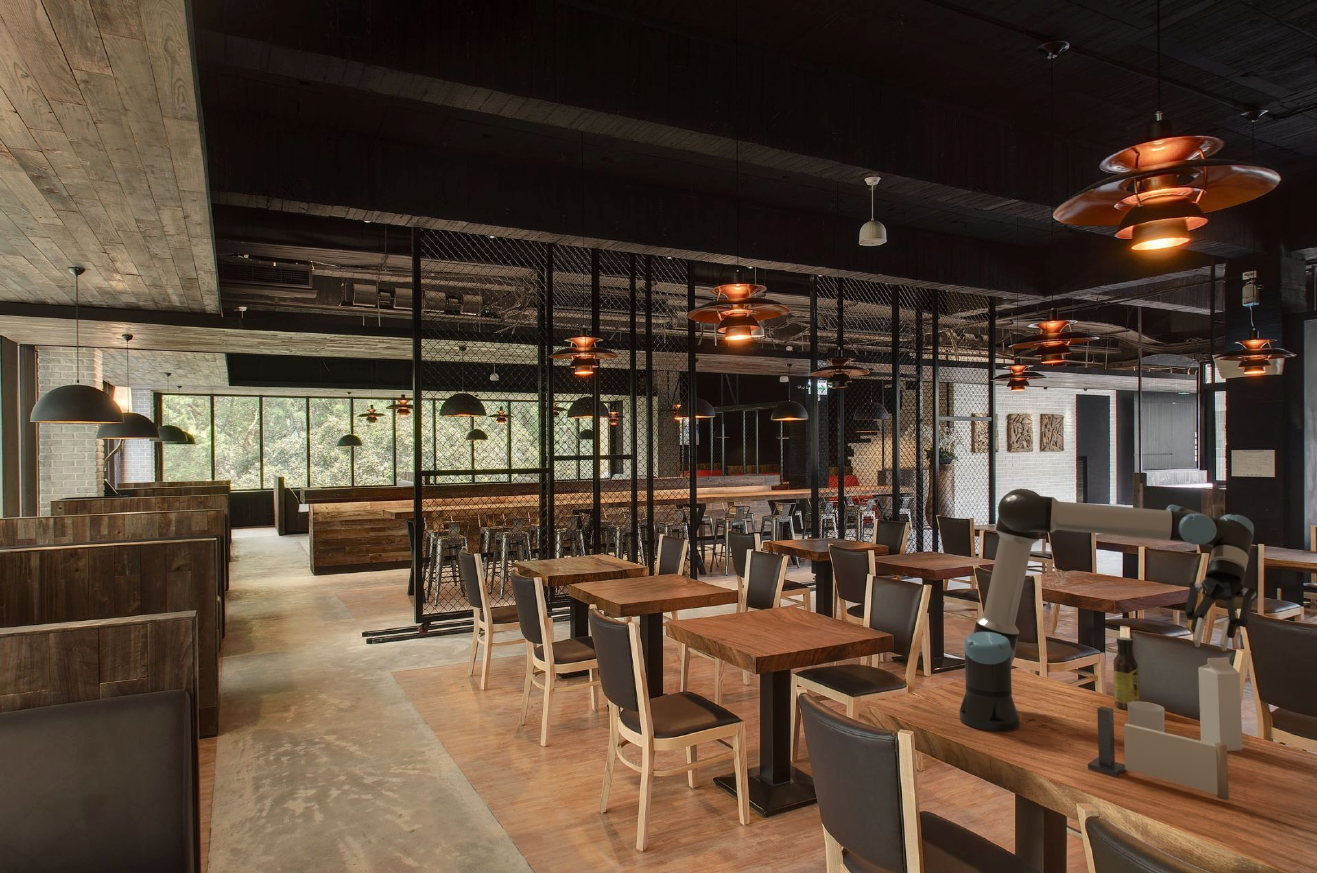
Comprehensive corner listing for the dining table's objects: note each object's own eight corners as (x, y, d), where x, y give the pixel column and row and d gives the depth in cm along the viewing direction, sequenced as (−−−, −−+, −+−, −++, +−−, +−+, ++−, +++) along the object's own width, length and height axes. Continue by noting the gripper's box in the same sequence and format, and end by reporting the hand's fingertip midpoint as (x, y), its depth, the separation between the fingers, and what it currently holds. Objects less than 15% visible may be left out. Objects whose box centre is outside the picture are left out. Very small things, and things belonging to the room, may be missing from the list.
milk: (1200, 742, 188) (1196, 655, 189) (1222, 741, 189) (1218, 654, 190) (1221, 751, 182) (1216, 661, 183) (1243, 750, 183) (1239, 660, 184)
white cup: (1172, 753, 181) (1170, 712, 181) (1136, 751, 183) (1135, 710, 183) (1157, 741, 189) (1155, 702, 189) (1123, 739, 190) (1121, 700, 191)
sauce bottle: (1140, 712, 210) (1137, 642, 211) (1114, 709, 214) (1112, 639, 215) (1139, 706, 216) (1137, 637, 217) (1114, 702, 219) (1112, 635, 220)
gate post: (1088, 769, 172) (1086, 708, 173) (1098, 762, 176) (1096, 702, 177) (1116, 777, 168) (1114, 714, 168) (1126, 770, 171) (1124, 709, 172)
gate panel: (1124, 771, 168) (1123, 722, 169) (1127, 769, 169) (1126, 721, 170) (1227, 800, 154) (1225, 747, 154) (1229, 798, 155) (1228, 744, 155)
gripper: (1274, 581, 180) (1259, 662, 169) (1188, 574, 193) (1169, 648, 182) (1268, 561, 177) (1252, 642, 165) (1181, 555, 190) (1161, 629, 179)
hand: (1209, 645), depth 174 cm, fingers open, 4 cm apart
